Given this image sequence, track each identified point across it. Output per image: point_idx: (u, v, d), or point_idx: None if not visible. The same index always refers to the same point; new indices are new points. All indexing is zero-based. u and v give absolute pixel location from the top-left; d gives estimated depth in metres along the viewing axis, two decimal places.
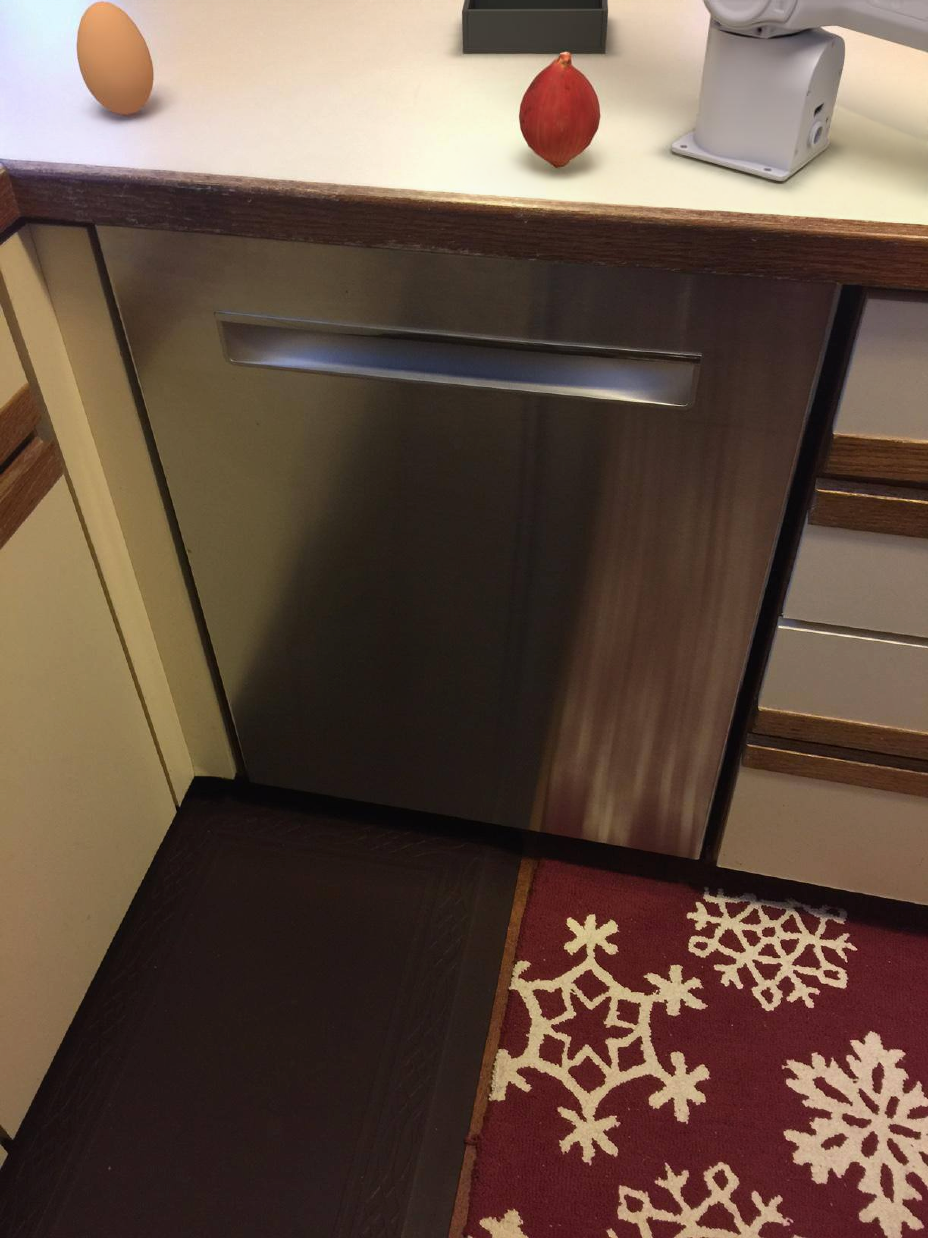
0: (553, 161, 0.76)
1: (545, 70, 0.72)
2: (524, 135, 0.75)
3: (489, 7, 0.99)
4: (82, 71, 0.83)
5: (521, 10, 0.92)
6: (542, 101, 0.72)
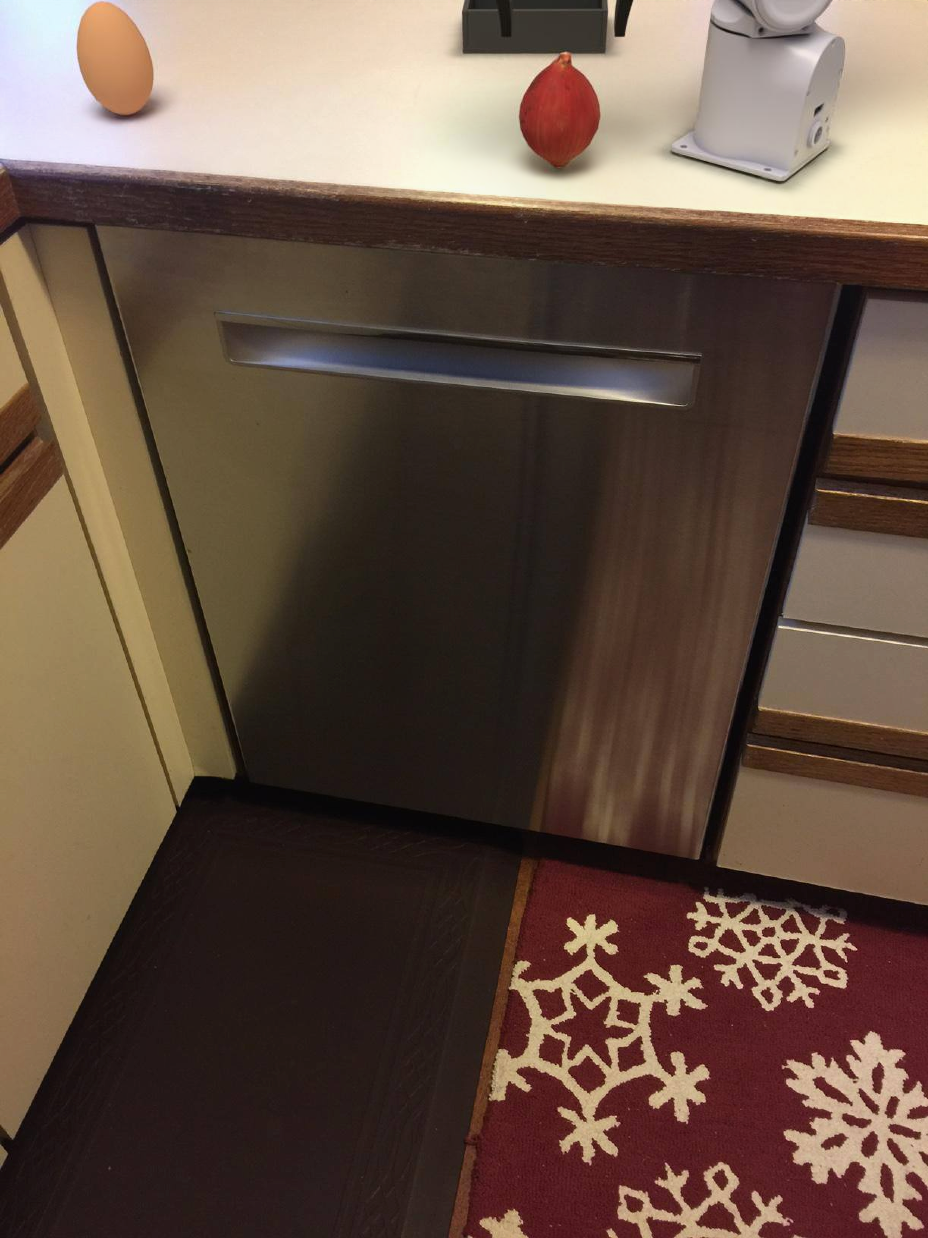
0: (553, 161, 0.76)
1: (545, 70, 0.72)
2: (524, 135, 0.75)
3: (489, 7, 0.99)
4: (82, 71, 0.83)
5: (521, 10, 0.92)
6: (542, 101, 0.72)
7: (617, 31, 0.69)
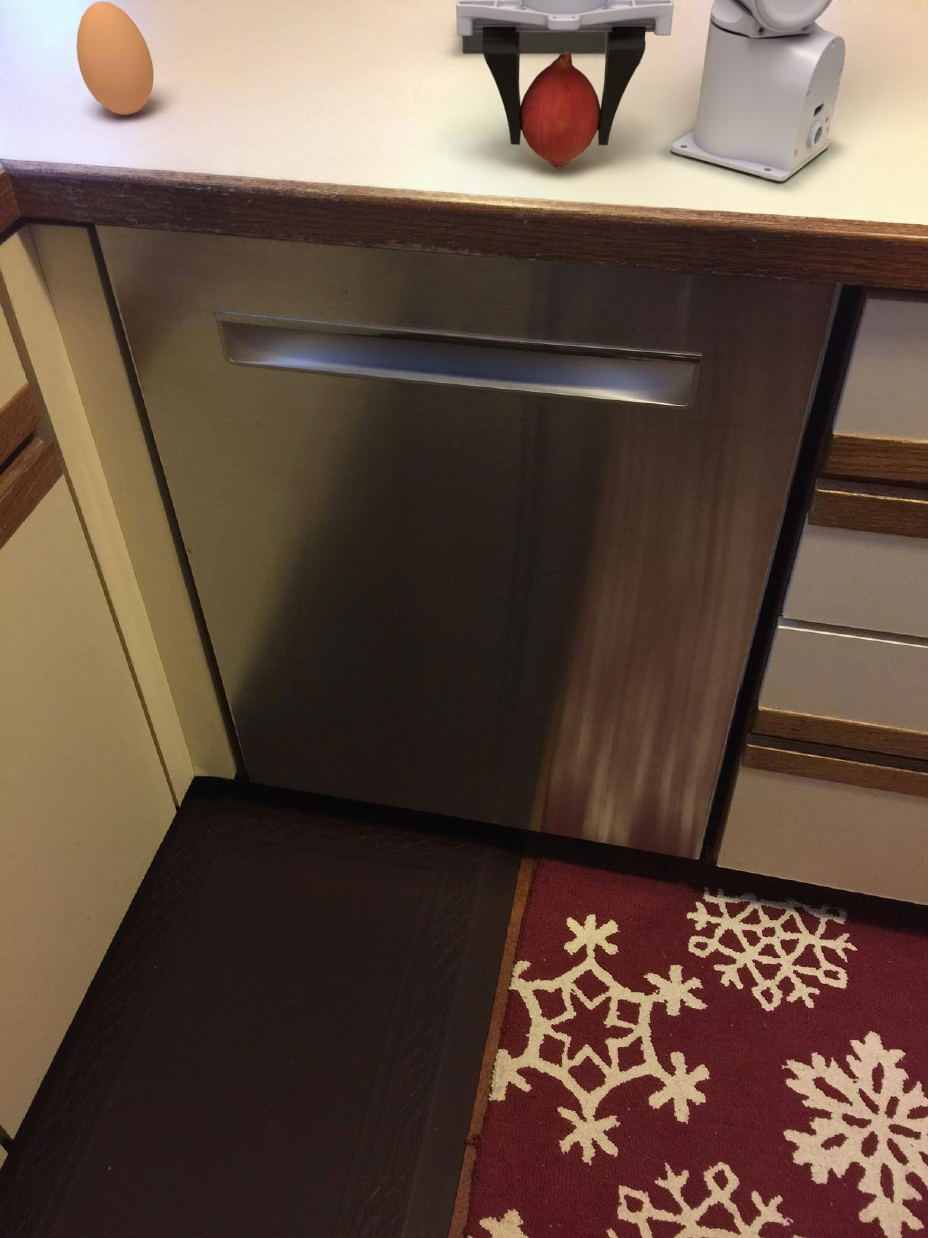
0: (554, 161, 0.76)
1: (545, 70, 0.72)
2: (524, 135, 0.75)
3: None
4: (82, 71, 0.83)
5: None
6: (543, 101, 0.72)
7: (601, 140, 0.75)
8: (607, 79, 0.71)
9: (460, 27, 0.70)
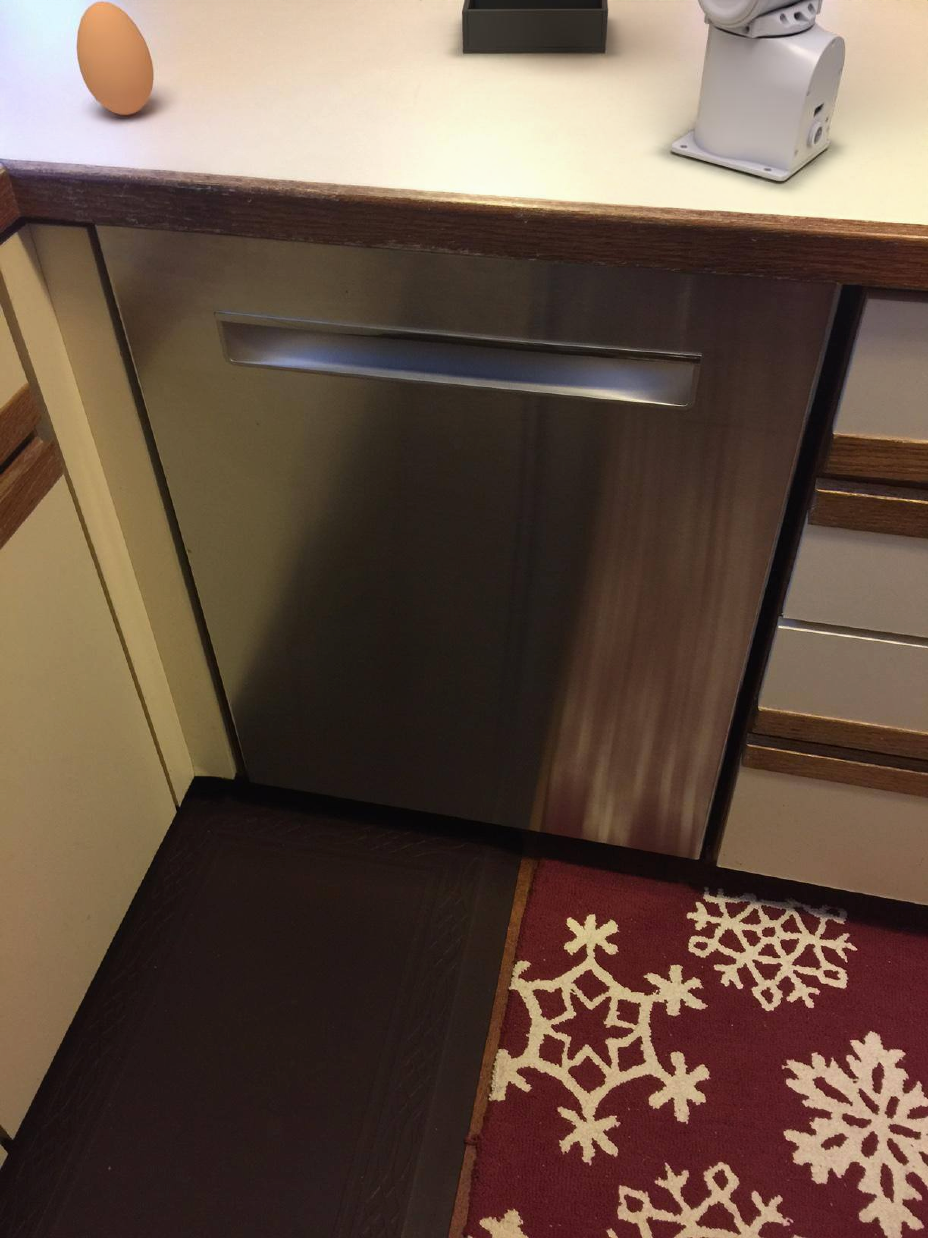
0: None
1: None
2: None
3: (489, 7, 0.99)
4: (82, 71, 0.83)
5: (521, 10, 0.92)
6: None
7: None
8: None
9: None
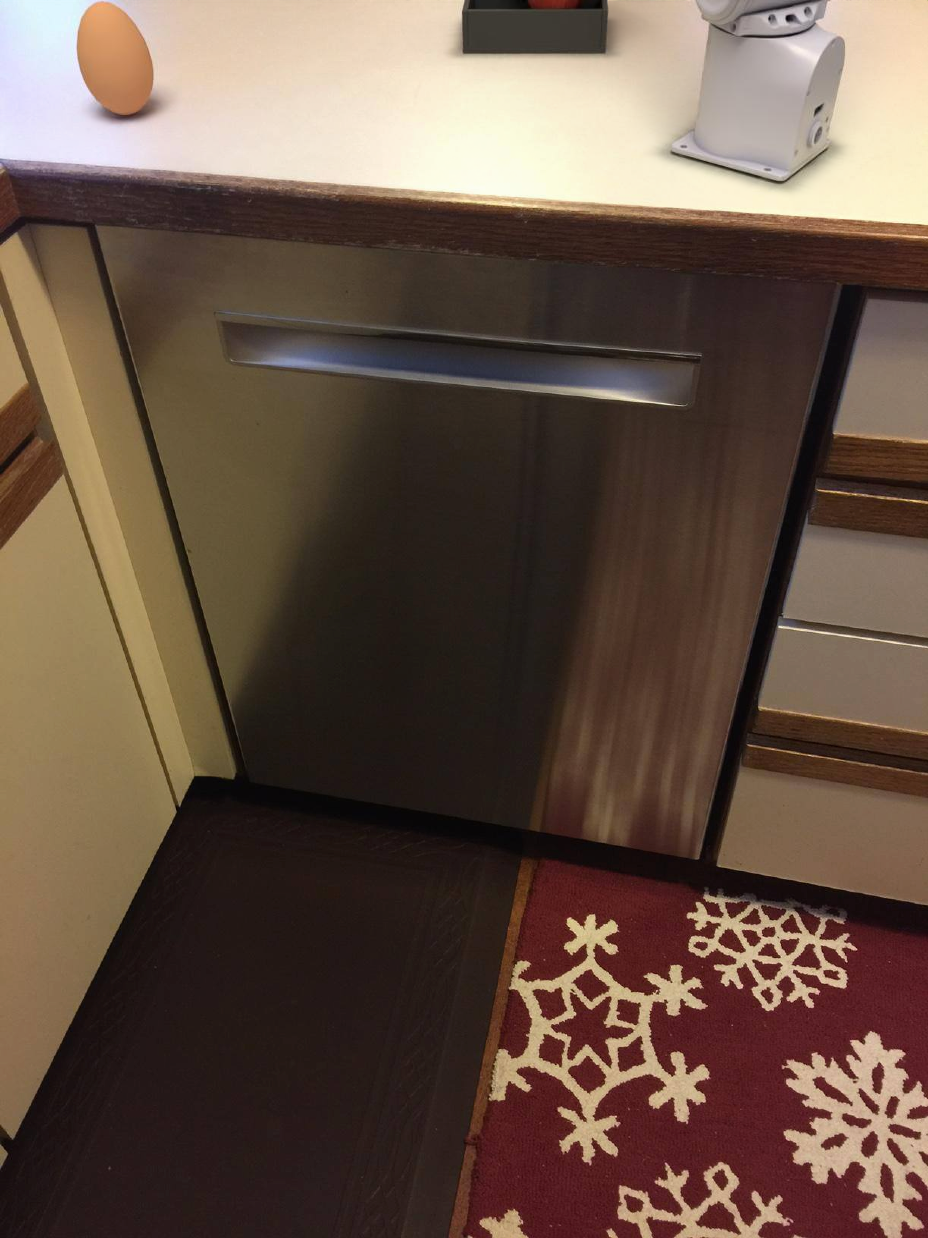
0: None
1: None
2: None
3: (489, 7, 0.99)
4: (82, 71, 0.83)
5: (521, 10, 0.92)
6: None
7: None
8: None
9: None
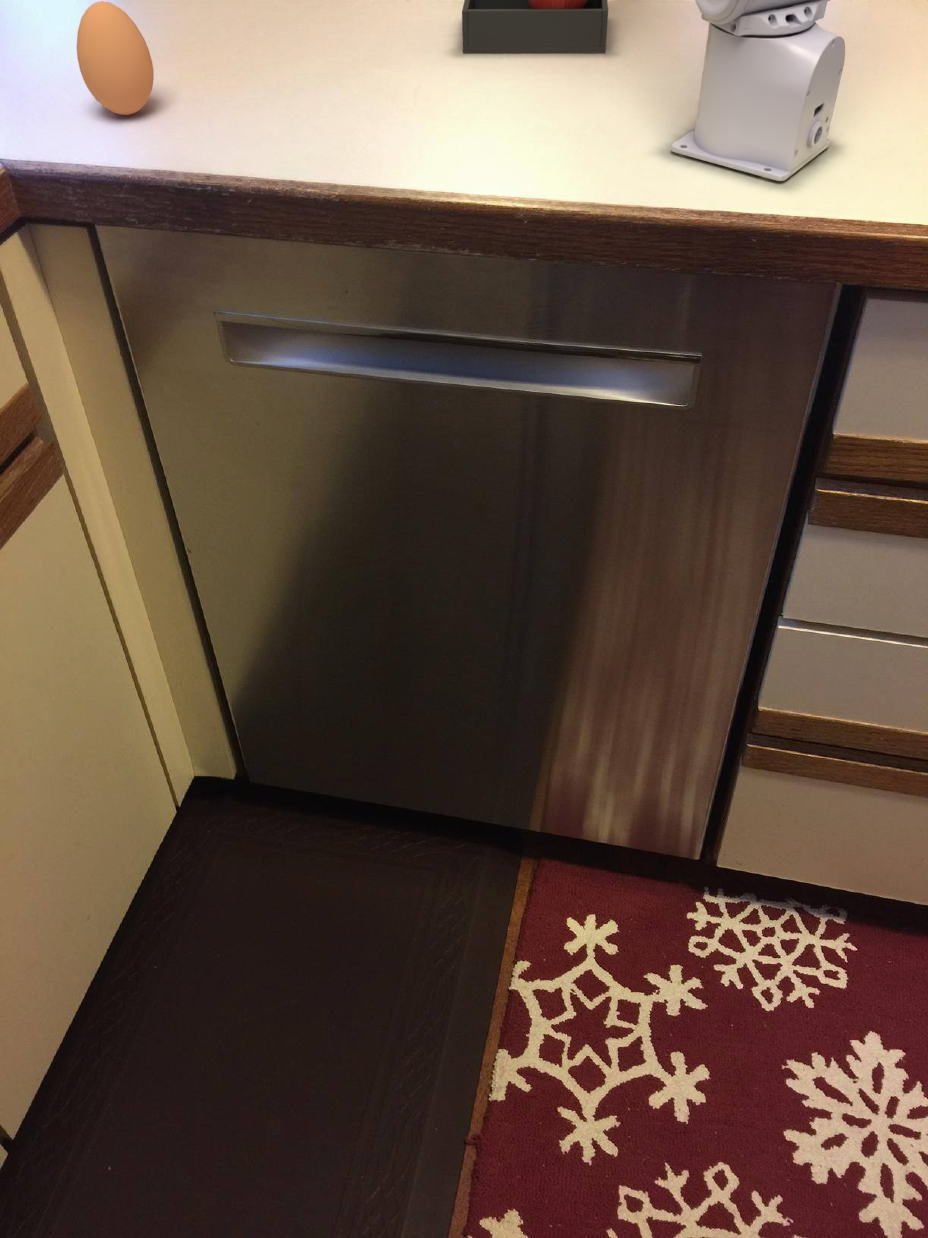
0: None
1: None
2: None
3: (489, 7, 0.99)
4: (82, 71, 0.83)
5: (521, 10, 0.92)
6: None
7: None
8: None
9: None
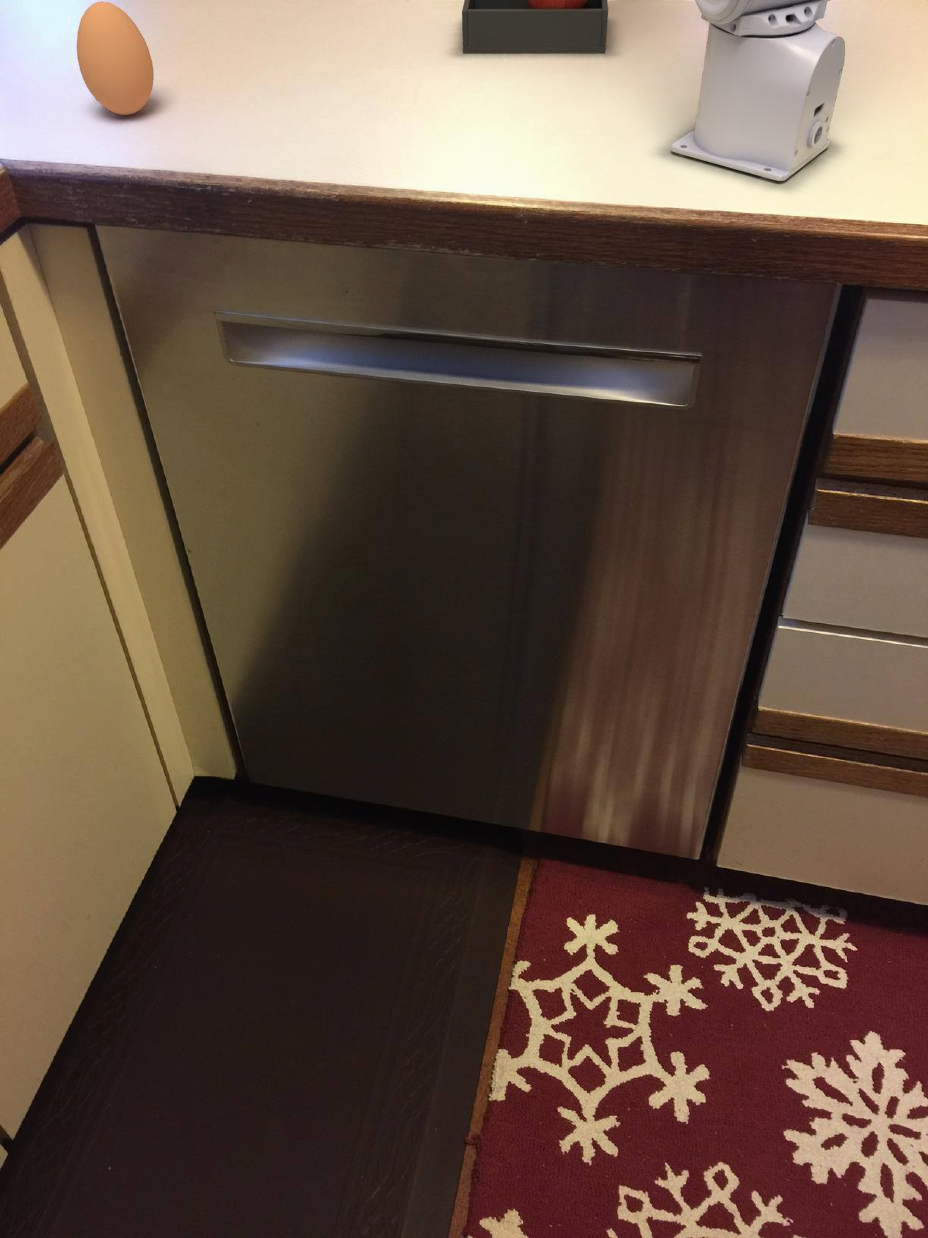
0: None
1: None
2: None
3: (489, 7, 0.99)
4: (82, 71, 0.83)
5: (521, 10, 0.92)
6: None
7: None
8: None
9: None
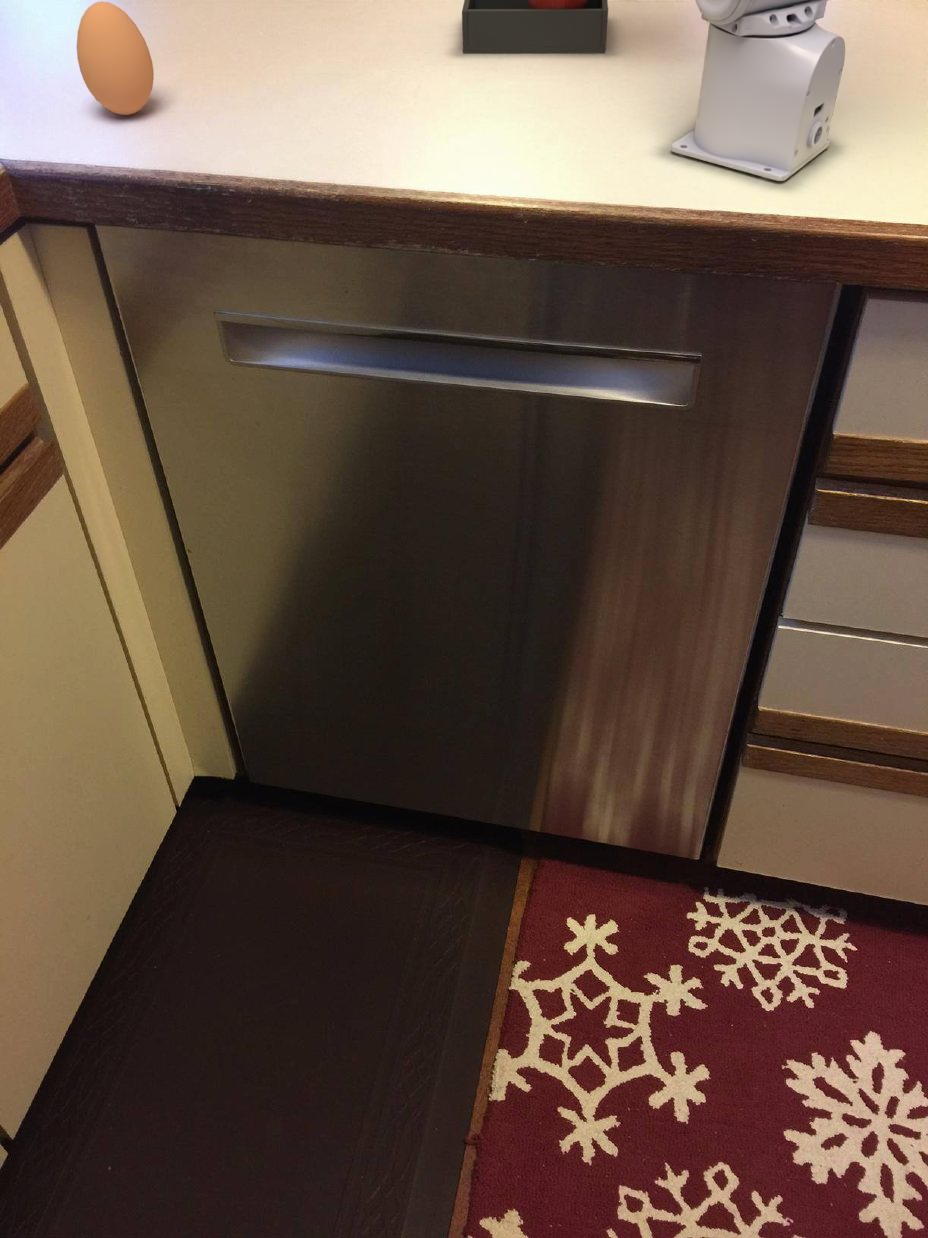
0: None
1: None
2: None
3: (489, 7, 0.99)
4: (82, 71, 0.83)
5: (521, 10, 0.92)
6: None
7: None
8: None
9: None
